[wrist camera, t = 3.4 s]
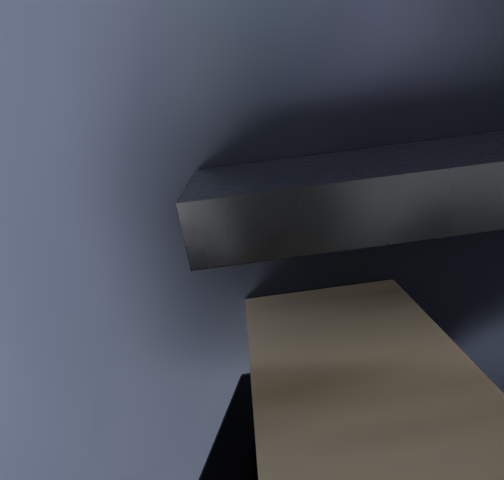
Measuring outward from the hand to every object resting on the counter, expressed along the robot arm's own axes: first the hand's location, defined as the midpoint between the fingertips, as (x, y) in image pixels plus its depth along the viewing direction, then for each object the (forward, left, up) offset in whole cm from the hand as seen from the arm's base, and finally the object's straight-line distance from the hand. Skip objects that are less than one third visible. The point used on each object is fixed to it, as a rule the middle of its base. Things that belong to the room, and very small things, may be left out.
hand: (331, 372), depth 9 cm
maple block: (0, 0, -1) cm, 1 cm away
